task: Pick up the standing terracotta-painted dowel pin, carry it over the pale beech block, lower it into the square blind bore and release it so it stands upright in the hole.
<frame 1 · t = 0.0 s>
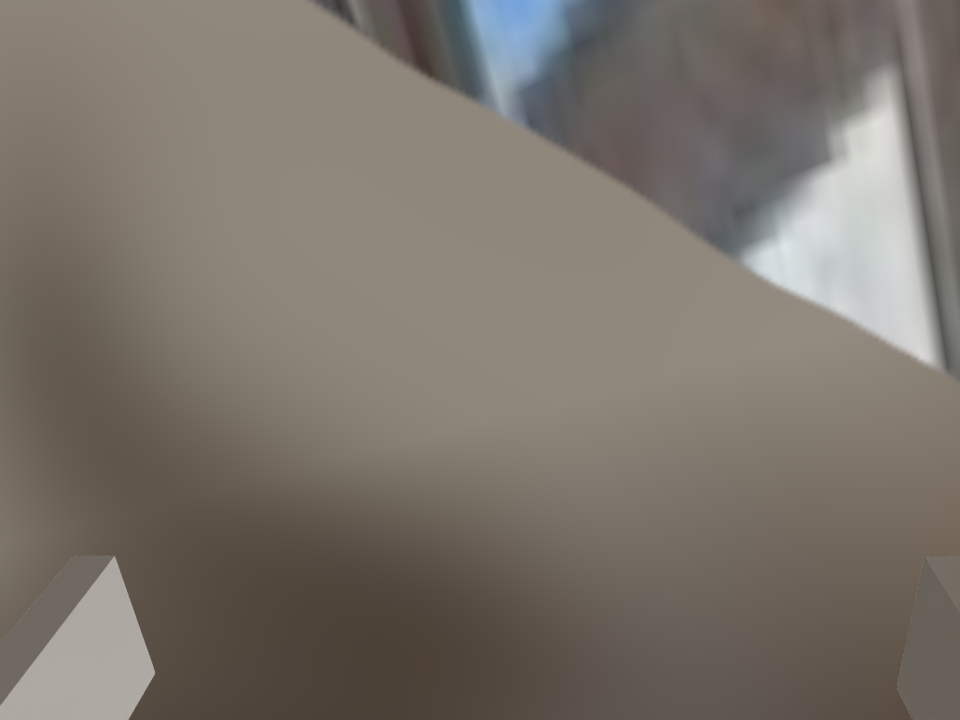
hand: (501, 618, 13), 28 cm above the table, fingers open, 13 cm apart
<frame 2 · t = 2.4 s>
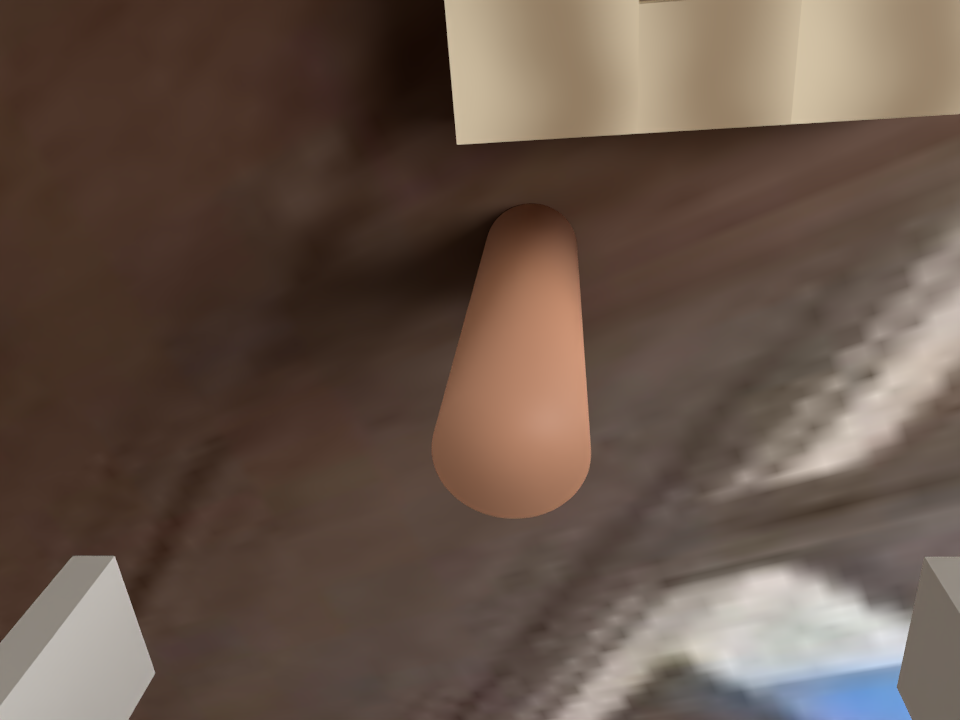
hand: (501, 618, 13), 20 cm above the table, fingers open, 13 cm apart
pin: (531, 248, 31), on the table
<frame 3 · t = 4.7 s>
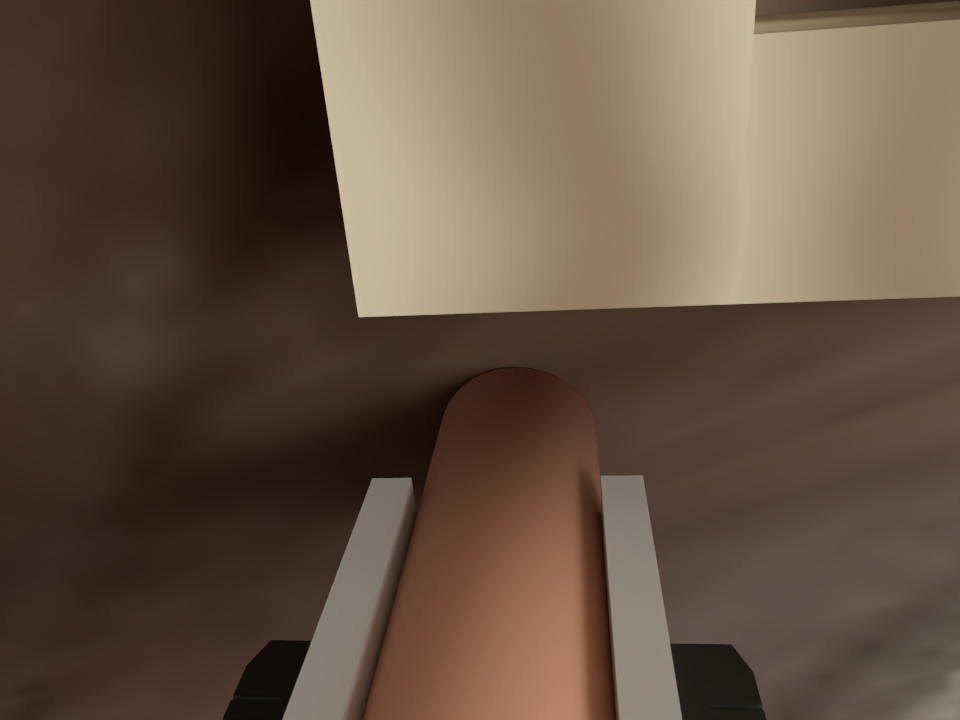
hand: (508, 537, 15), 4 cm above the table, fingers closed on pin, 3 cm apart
pin: (518, 437, 18), on the table, touching gripper
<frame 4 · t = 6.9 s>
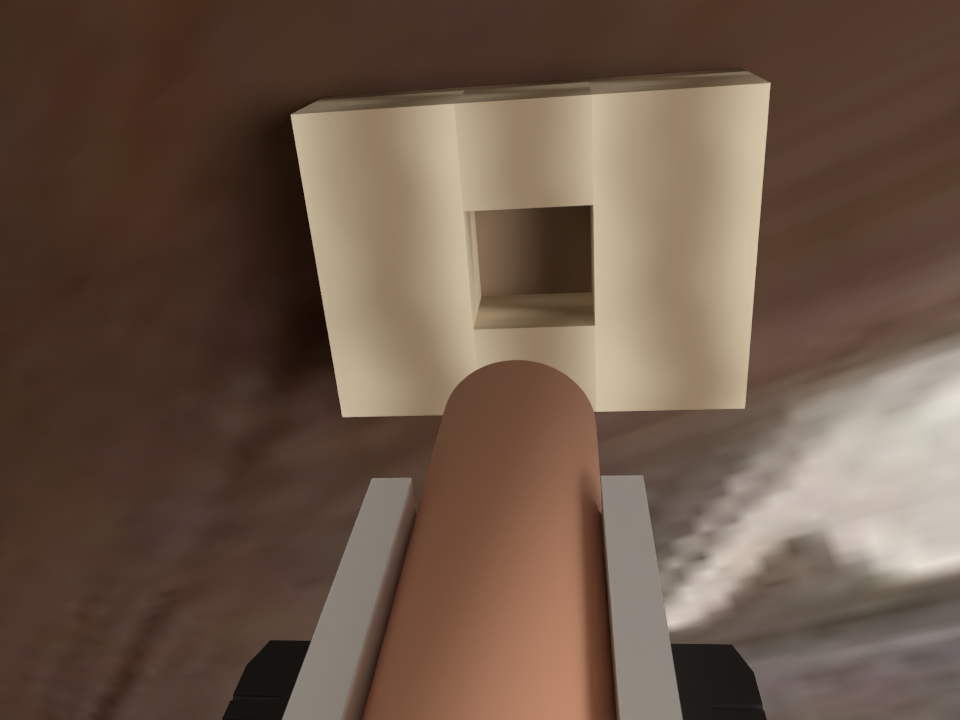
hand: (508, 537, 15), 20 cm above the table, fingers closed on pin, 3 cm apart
pin: (518, 428, 19), point 16 cm above the table, touching gripper
bore block: (534, 234, 33), on the table
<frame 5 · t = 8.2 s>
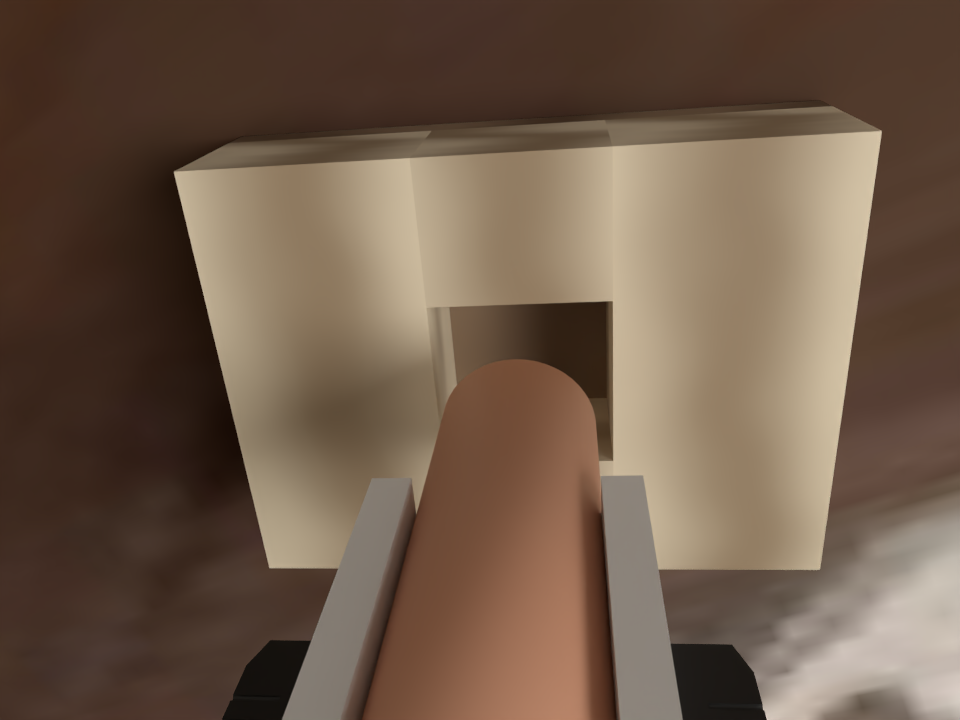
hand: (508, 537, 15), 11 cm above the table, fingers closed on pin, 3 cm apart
pin: (518, 428, 19), point 7 cm above the table, touching gripper
bore block: (529, 318, 25), on the table
when the fingers open (7 cm above the table, at t = 9.4 s): pin drops 1 cm, resting on bore block.
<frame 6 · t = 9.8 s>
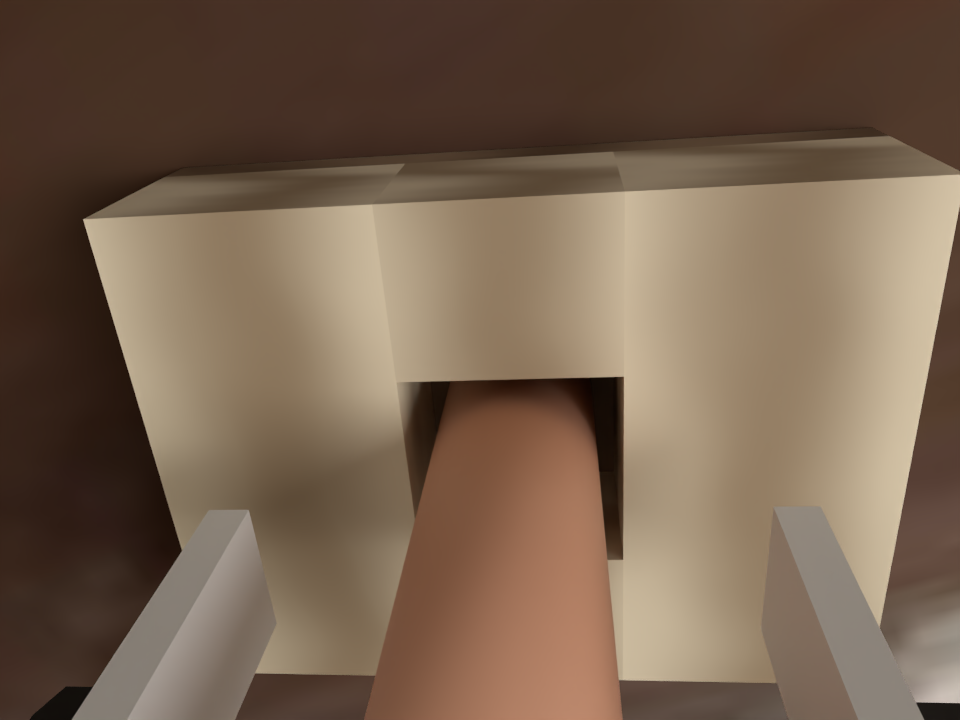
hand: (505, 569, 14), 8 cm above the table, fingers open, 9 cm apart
pin: (520, 395, 20), point 1 cm above the table, touching bore block
bore block: (523, 378, 21), on the table
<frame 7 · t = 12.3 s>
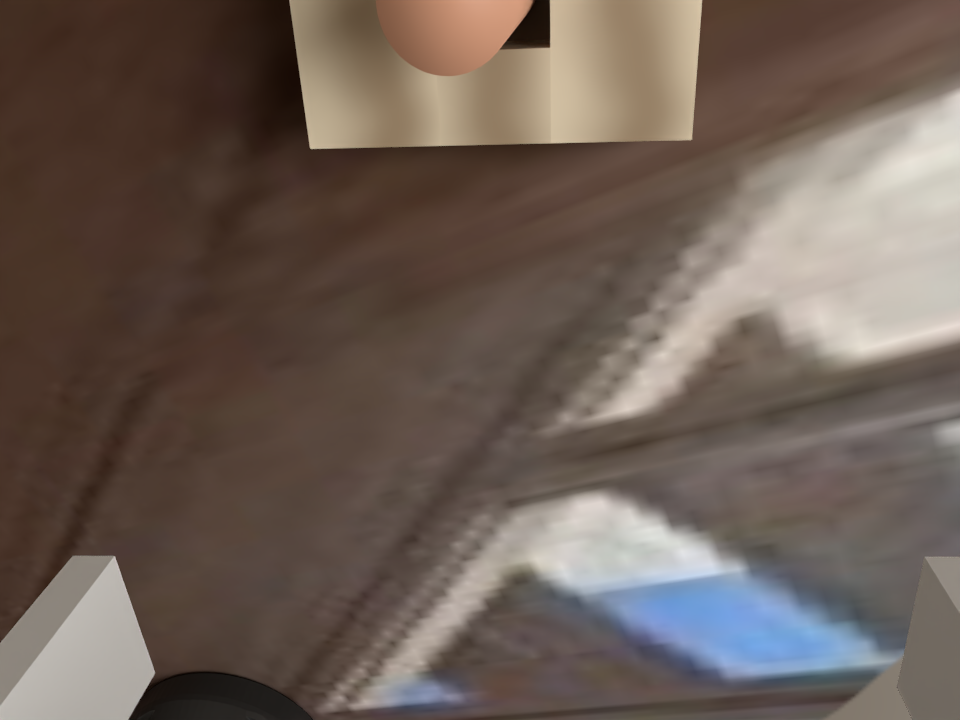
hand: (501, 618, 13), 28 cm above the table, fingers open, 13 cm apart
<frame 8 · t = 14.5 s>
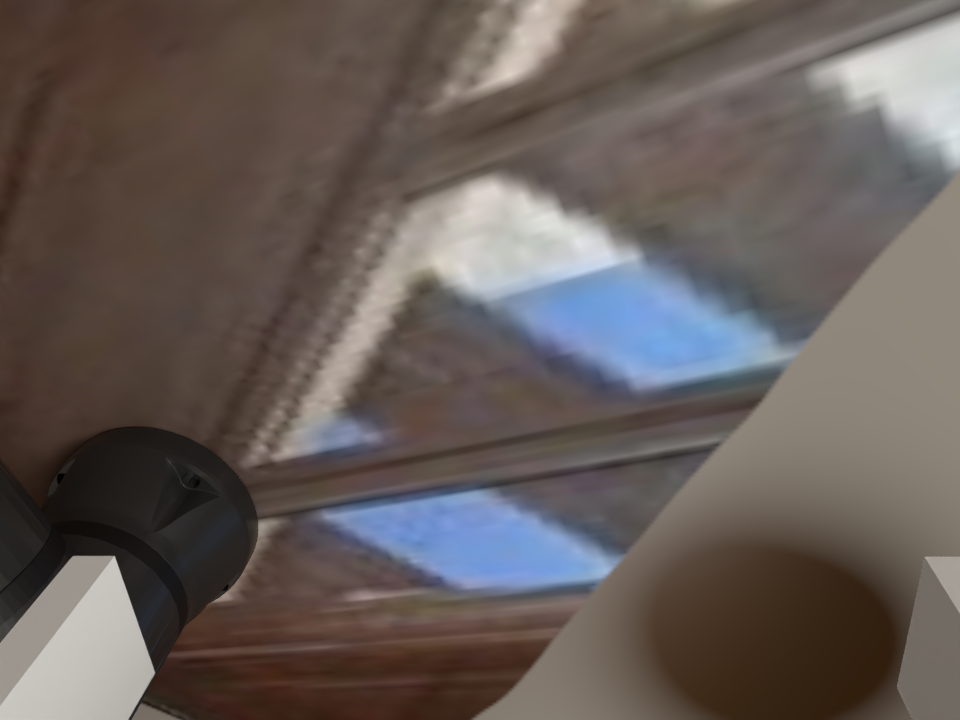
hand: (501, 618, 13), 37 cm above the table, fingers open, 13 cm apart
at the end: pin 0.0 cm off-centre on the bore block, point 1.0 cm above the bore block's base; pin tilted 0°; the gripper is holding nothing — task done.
